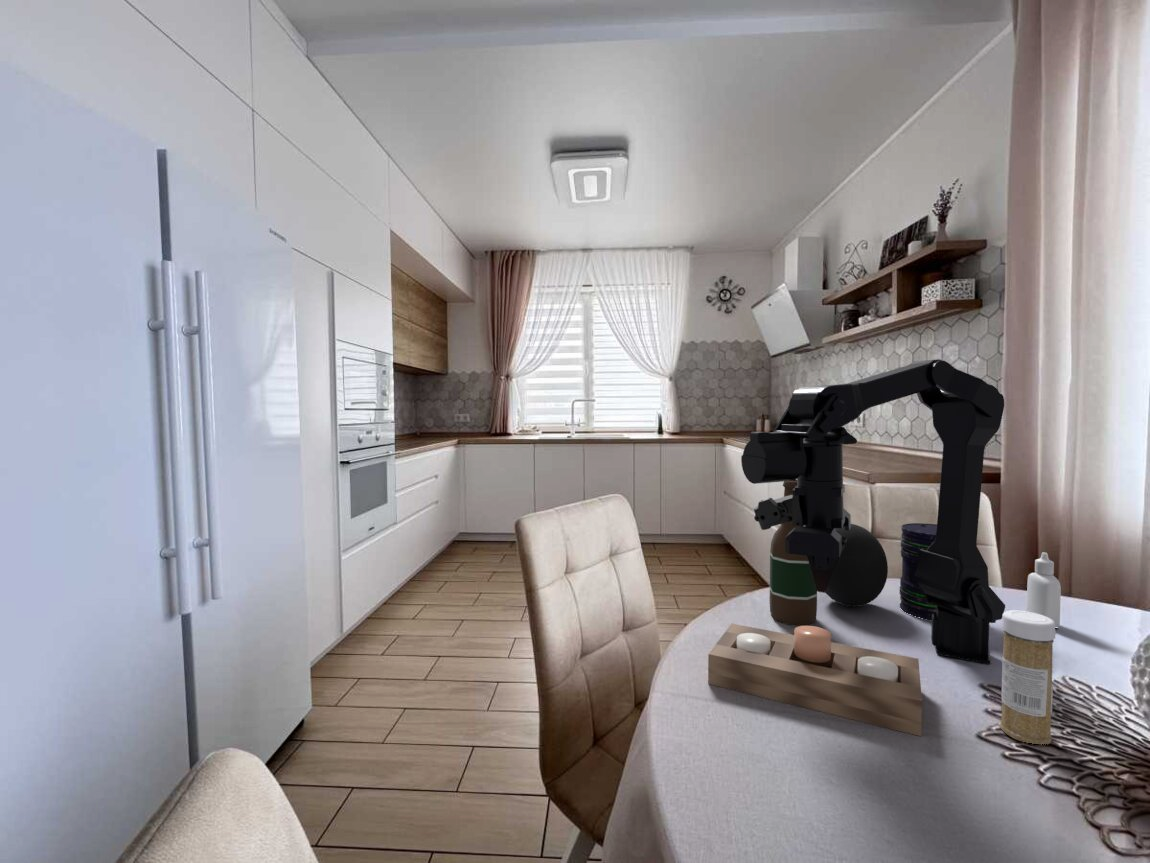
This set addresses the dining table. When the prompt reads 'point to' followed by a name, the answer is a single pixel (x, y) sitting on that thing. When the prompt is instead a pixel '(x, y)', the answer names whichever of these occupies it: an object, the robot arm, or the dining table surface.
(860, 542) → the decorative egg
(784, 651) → the knob mount
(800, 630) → the middle knob
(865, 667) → the knob
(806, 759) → the dining table surface
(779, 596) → the beer bottle
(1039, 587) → the eye dropper bottle
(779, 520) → the robot arm
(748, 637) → the knob
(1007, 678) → the sprinkles bottle
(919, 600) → the storage jar
